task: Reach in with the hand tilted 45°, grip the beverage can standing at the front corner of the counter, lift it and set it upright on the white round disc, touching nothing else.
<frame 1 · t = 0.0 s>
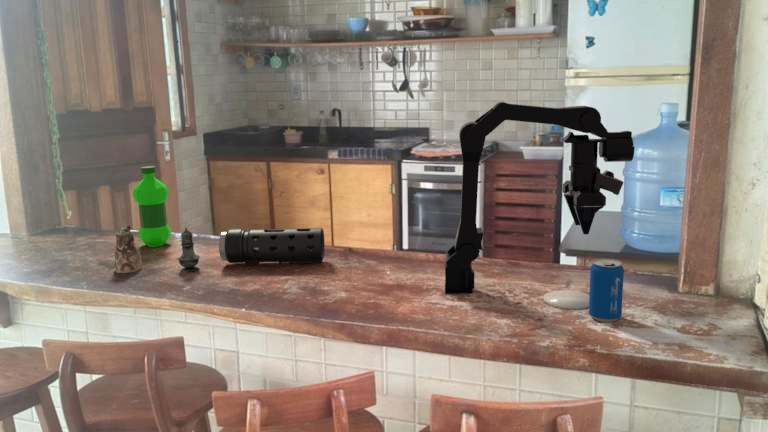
hand: (581, 229, 152), 15 cm above the countertop, tool pointing down, fingers open, 9 cm apart
beverage can: (604, 318, 138), on the countertop
plastic bottle: (156, 245, 211), on the countertop
white round disc: (568, 300, 149), on the countertop
salt shaker: (189, 270, 181), on the countertop
muzzle brake: (273, 265, 185), on the countertop
figurine: (128, 269, 184), on the countertop
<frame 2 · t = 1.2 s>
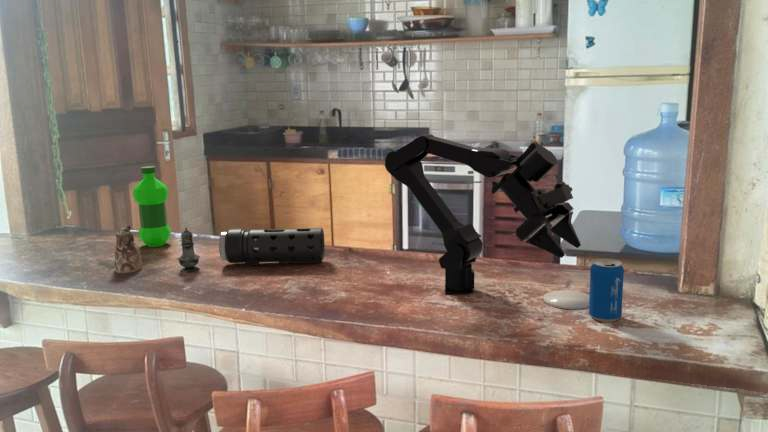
hand: (571, 251, 139), 13 cm above the countertop, tool tilted 45°, fingers open, 9 cm apart
nothing on the countertop moved.
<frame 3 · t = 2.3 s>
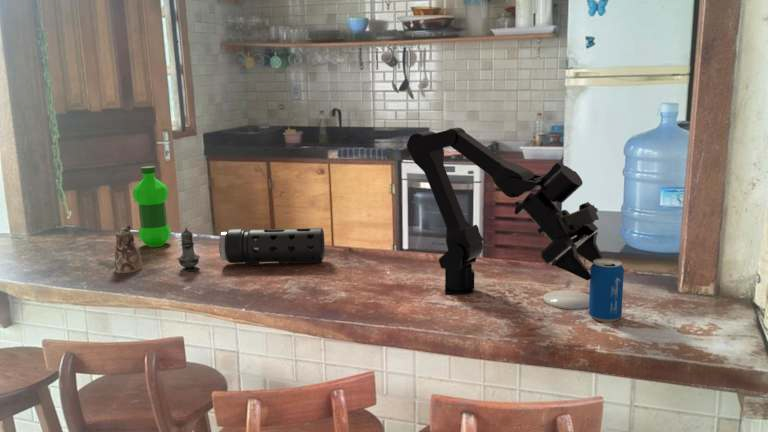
hand: (597, 273, 137), 9 cm above the countertop, tool tilted 45°, fingers open, 9 cm apart
nothing on the countertop moved.
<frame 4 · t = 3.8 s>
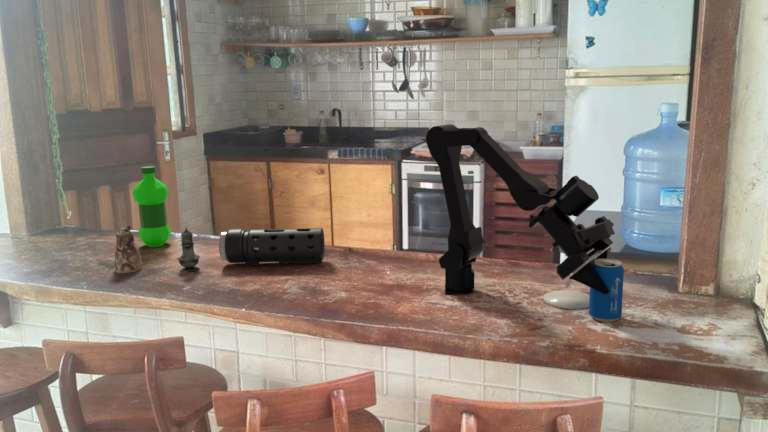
hand: (613, 288, 136), 7 cm above the countertop, tool tilted 45°, fingers closed on beverage can, 6 cm apart
beverage can: (604, 318, 138), on the countertop, touching gripper
everything else where it was.
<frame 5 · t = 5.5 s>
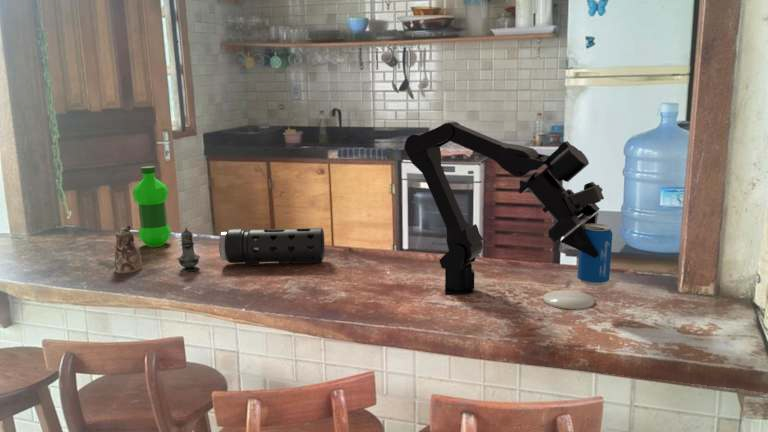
hand: (601, 252, 138), 13 cm above the countertop, tool tilted 45°, fingers closed on beverage can, 6 cm apart
beverage can: (592, 282, 140), point 6 cm above the countertop, touching gripper
everything else where it was.
when the fingers open (8 cm above the countertop, at t = 7.7 s): beverage can drops 1 cm, resting on white round disc.
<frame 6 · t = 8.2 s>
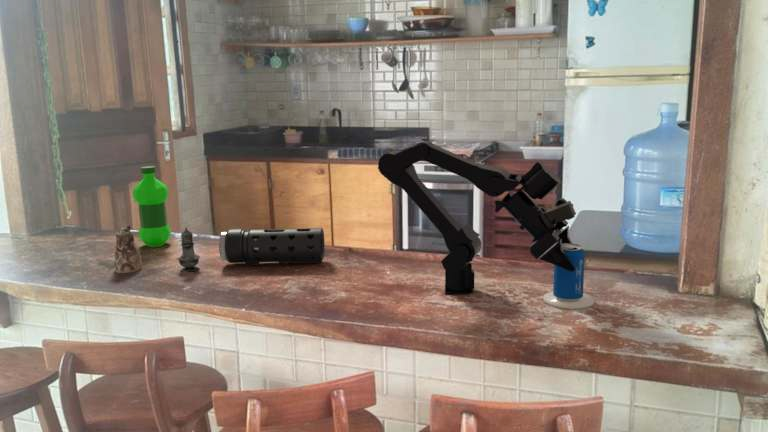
hand: (576, 264, 146), 9 cm above the countertop, tool tilted 45°, fingers open, 9 cm apart
beverage can: (567, 298, 149), resting on white round disc
everything else where it was.
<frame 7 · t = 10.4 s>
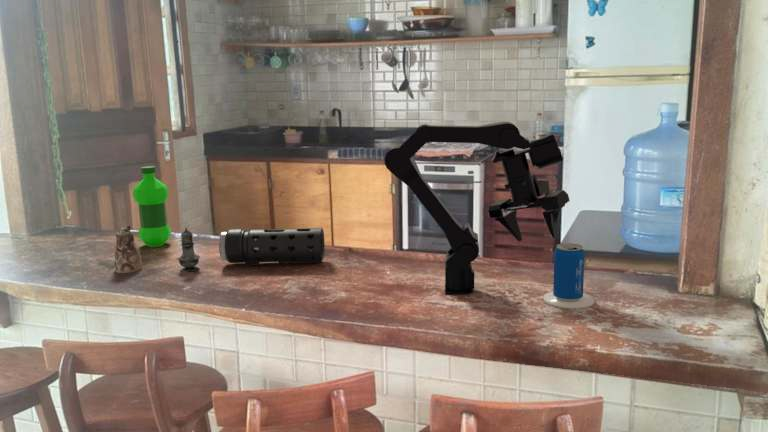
hand: (537, 239, 153), 13 cm above the countertop, tool tilted 15°, fingers open, 9 cm apart
nothing on the countertop moved.
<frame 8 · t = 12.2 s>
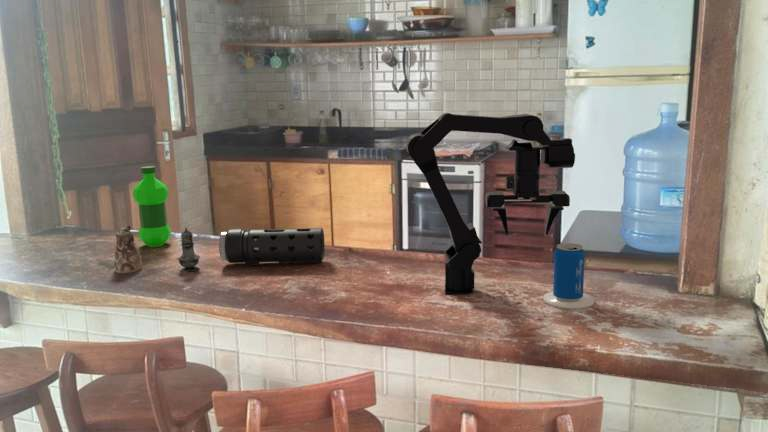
hand: (526, 234, 156), 13 cm above the countertop, tool pointing down, fingers open, 9 cm apart
nothing on the countertop moved.
at the end: beverage can 0.2 cm from the white round disc (horizontally); beverage can tilted 0°; the gripper is holding nothing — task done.
